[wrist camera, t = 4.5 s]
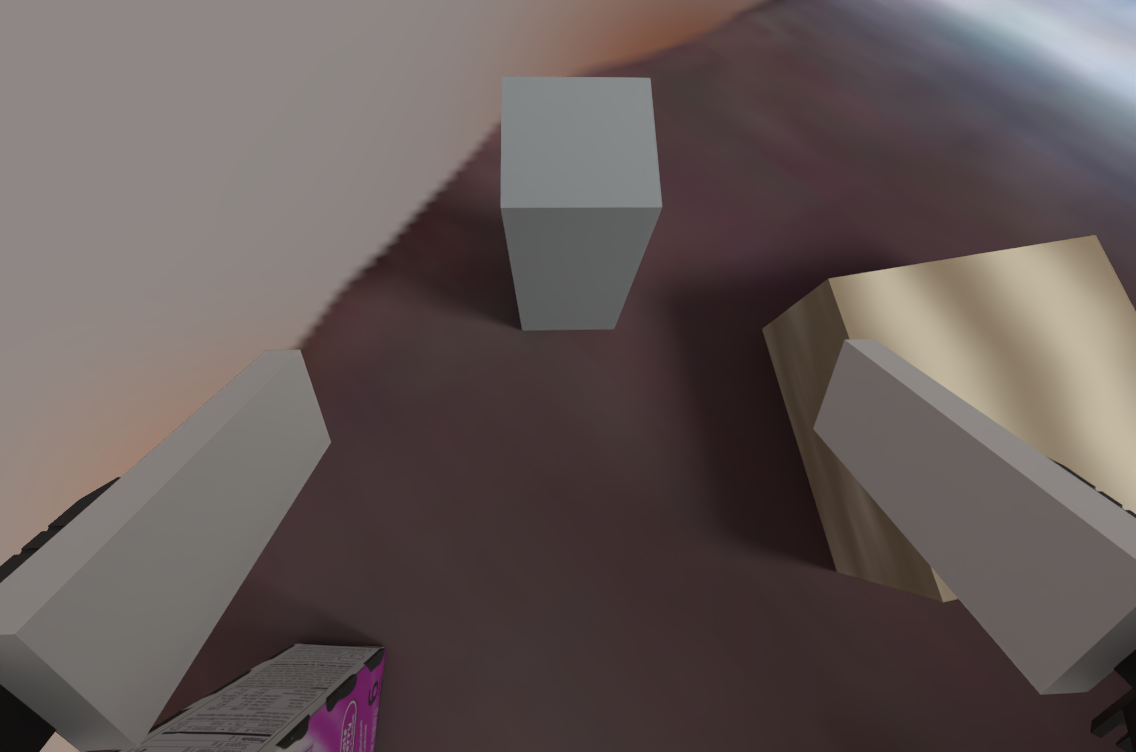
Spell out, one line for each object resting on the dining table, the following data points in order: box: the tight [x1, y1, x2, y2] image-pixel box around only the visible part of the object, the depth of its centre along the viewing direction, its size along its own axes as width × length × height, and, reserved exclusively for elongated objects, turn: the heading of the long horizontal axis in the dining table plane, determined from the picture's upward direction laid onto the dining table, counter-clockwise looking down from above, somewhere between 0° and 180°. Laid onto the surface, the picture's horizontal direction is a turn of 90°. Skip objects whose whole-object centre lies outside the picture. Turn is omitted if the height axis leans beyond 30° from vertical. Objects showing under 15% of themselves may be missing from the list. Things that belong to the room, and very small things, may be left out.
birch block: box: [762, 235, 1136, 602], centre depth 23 cm, size 14×14×7 cm
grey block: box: [501, 76, 662, 331], centre depth 22 cm, size 6×6×12 cm
